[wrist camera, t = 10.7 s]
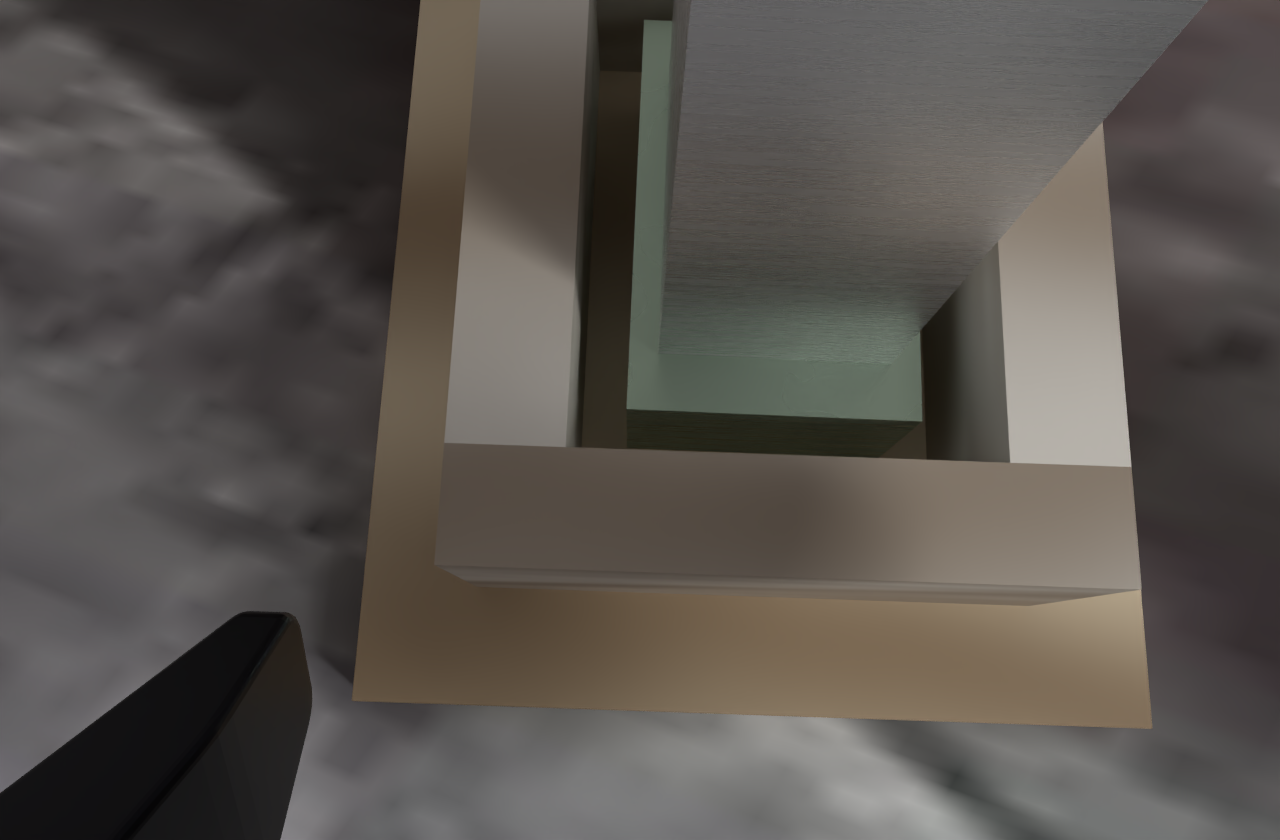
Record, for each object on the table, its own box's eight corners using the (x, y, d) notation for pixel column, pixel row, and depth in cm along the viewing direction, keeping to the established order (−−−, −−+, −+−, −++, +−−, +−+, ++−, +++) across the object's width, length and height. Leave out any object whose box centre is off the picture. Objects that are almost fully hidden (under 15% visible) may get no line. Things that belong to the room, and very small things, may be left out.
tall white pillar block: (878, 458, 16) (2010, -484, 3) (627, 447, 16) (615, -539, 3) (872, 118, 17) (1613, -1545, 4) (641, 109, 17) (682, -1589, 4)
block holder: (1120, 725, 16) (1305, 747, 12) (368, 698, 16) (270, 710, 12) (1062, -34, 19) (1189, -238, 15) (440, -56, 19) (384, -267, 15)
